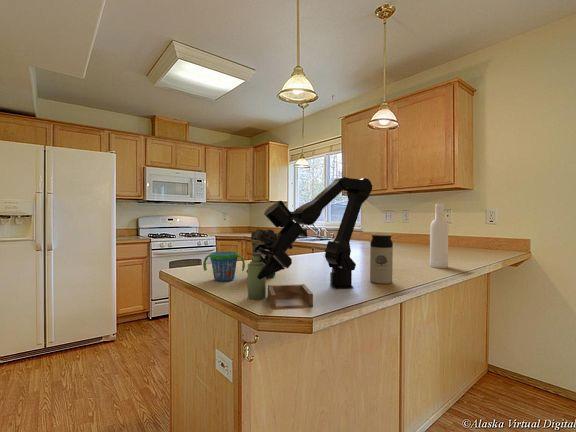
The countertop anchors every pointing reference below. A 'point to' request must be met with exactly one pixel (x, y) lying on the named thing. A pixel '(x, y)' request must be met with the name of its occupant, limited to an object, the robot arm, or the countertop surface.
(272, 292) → the wooden serving tray
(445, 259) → the bottle
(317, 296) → the countertop surface
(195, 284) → the countertop surface
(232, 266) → the snack cup
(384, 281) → the travel mug
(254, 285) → the bottle
